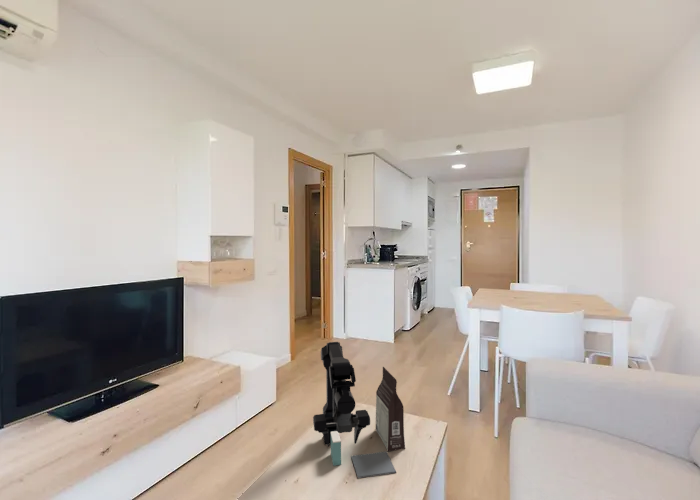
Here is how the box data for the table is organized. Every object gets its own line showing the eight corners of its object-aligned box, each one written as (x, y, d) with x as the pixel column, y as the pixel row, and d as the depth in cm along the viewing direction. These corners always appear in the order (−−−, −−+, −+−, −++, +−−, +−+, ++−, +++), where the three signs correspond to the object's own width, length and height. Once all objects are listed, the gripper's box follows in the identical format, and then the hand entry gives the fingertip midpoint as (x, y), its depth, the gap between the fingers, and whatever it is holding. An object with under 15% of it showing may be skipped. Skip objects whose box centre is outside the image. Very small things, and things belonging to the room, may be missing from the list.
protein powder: (407, 448, 140) (407, 379, 139) (386, 452, 138) (386, 382, 137) (392, 427, 156) (391, 364, 155) (373, 430, 154) (372, 366, 153)
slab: (330, 454, 137) (330, 431, 137) (338, 453, 138) (338, 430, 137) (333, 465, 130) (333, 441, 130) (341, 464, 131) (341, 440, 130)
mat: (351, 457, 135) (351, 455, 135) (386, 452, 138) (386, 451, 138) (357, 478, 123) (357, 476, 123) (396, 472, 126) (396, 471, 126)
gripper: (315, 413, 108) (316, 463, 109) (374, 407, 112) (374, 455, 112) (312, 397, 119) (313, 442, 120) (366, 392, 123) (366, 436, 123)
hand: (341, 444), depth 119 cm, fingers open, 9 cm apart
